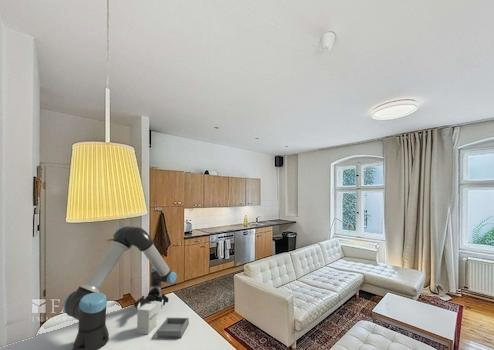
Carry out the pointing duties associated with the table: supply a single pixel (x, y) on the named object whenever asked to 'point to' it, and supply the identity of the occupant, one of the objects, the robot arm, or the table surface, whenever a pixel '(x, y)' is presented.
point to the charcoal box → (173, 328)
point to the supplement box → (146, 318)
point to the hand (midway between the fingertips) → (149, 308)
